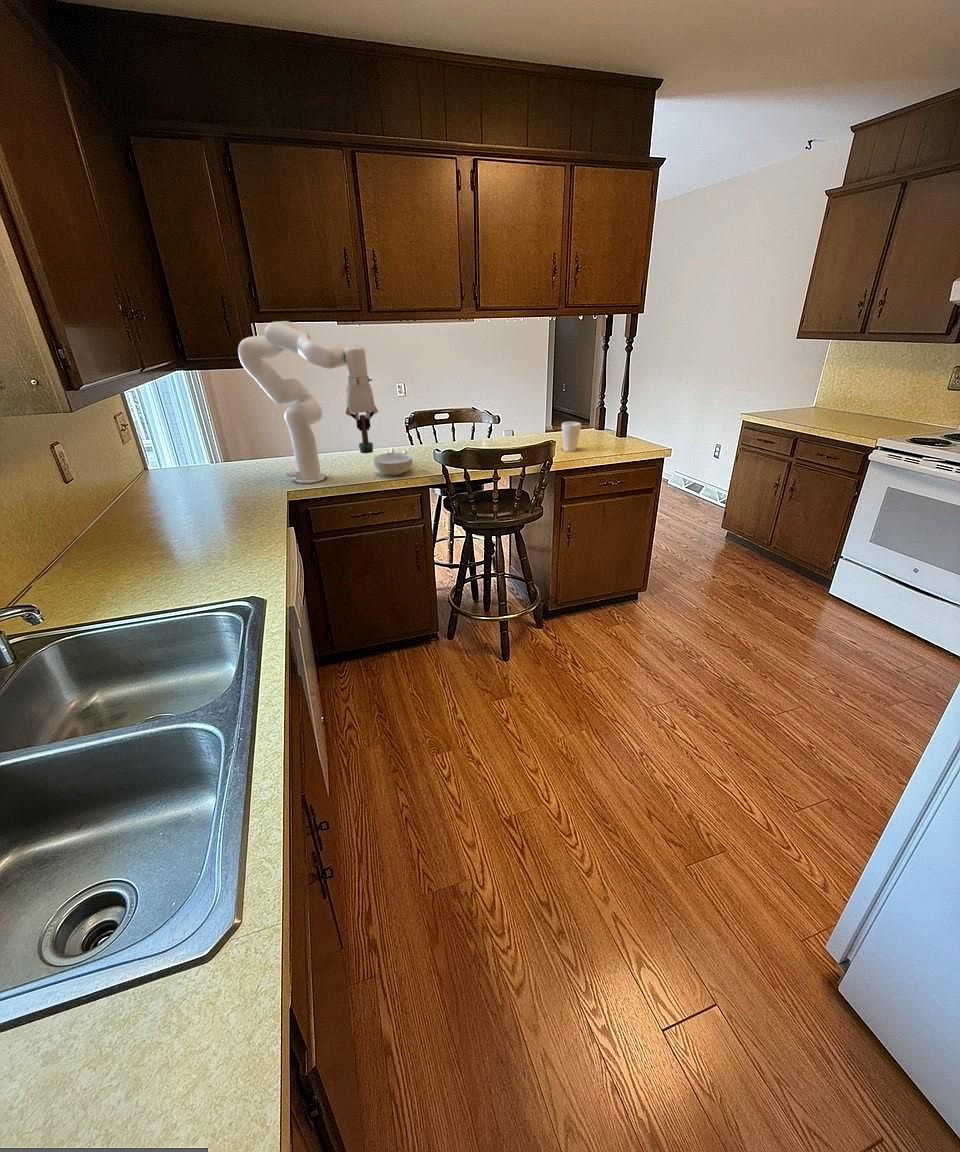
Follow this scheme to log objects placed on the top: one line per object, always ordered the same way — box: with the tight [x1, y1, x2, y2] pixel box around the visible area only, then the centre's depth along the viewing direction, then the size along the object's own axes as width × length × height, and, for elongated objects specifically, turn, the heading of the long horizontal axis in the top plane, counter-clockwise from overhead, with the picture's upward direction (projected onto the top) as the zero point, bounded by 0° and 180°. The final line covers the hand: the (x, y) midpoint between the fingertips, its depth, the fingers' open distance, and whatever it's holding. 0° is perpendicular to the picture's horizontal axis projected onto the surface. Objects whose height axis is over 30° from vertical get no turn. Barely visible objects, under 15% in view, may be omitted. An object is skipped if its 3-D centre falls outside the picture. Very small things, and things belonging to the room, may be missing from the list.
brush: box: [358, 414, 374, 454], centre depth 207 cm, size 6×6×14 cm
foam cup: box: [561, 421, 582, 452], centre depth 259 cm, size 10×9×13 cm
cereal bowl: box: [373, 452, 413, 476], centre depth 229 cm, size 17×17×7 cm
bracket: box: [384, 447, 408, 454], centre depth 244 cm, size 13×7×8 cm, turn 20°
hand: (364, 429), depth 207 cm, fingers closed on brush, 2 cm apart
